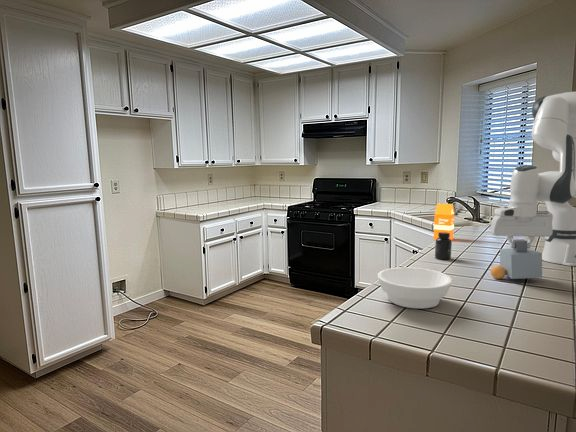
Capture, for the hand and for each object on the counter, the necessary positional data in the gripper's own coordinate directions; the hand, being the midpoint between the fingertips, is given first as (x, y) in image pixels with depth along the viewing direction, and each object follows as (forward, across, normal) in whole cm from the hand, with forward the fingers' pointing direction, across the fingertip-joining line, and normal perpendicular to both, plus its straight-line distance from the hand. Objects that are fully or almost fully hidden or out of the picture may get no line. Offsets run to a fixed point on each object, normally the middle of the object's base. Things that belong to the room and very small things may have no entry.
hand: (519, 247), depth 146 cm
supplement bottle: (+12, +19, -30) cm, 38 cm away
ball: (+10, +7, 0) cm, 12 cm away
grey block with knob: (+10, -1, 0) cm, 10 cm away
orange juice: (+12, +8, -76) cm, 77 cm away
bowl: (+13, +43, +27) cm, 52 cm away
